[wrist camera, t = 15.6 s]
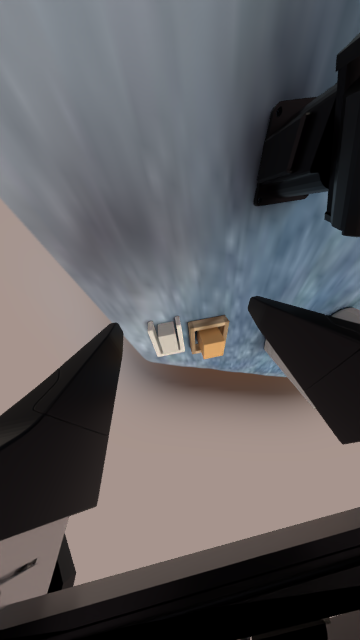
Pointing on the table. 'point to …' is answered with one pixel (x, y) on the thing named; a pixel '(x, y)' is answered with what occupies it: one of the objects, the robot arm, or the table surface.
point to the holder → (206, 324)
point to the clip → (156, 341)
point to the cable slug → (167, 337)
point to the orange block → (211, 342)
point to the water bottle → (348, 315)
